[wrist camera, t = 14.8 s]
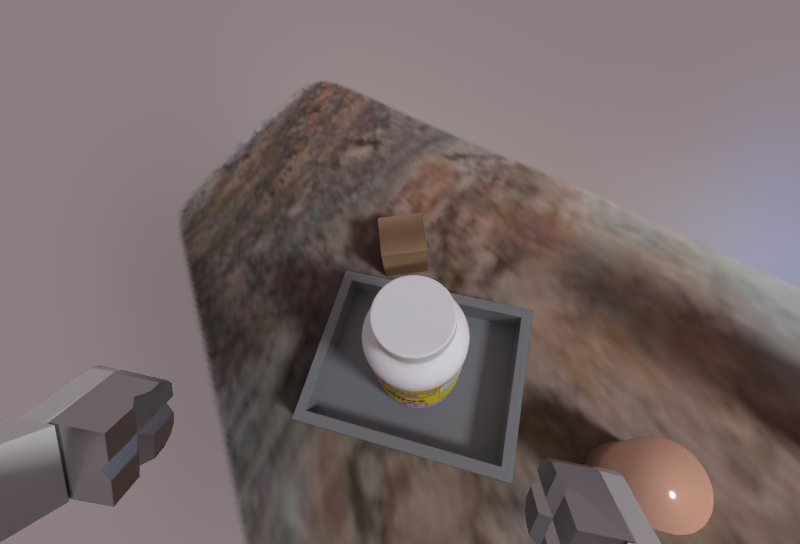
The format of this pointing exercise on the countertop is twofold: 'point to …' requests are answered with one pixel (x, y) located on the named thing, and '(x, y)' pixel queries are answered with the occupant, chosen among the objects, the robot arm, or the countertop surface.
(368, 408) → the tray
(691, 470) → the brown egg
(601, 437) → the countertop surface
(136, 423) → the robot arm
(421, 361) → the supplement bottle
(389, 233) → the walnut block
